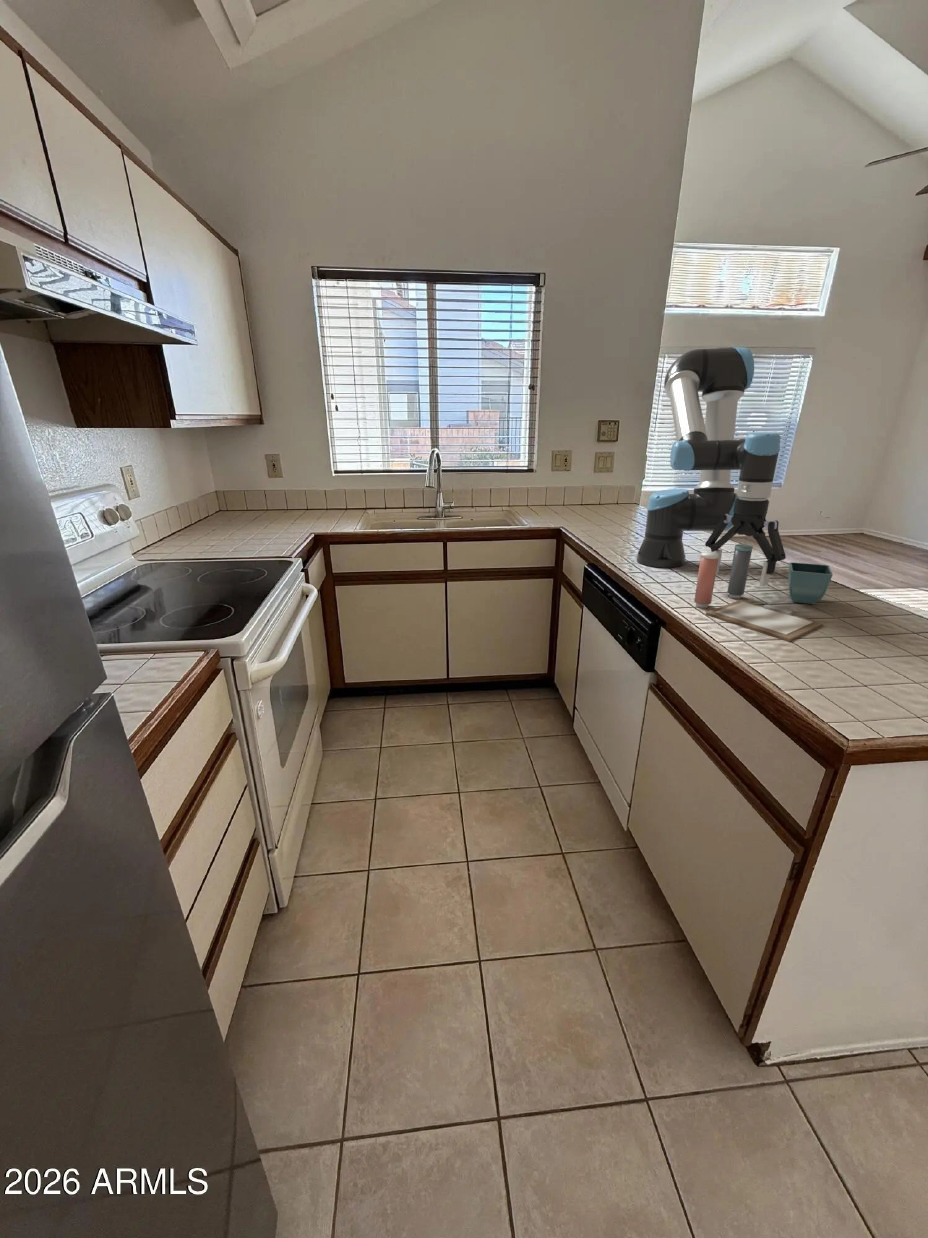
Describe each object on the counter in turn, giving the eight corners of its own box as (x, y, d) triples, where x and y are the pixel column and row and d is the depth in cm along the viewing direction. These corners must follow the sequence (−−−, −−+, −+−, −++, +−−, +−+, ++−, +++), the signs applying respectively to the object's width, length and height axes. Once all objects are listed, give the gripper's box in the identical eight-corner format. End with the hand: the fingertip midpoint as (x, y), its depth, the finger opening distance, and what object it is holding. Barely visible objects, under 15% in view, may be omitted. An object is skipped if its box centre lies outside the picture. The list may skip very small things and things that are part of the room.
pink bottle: (690, 605, 134) (697, 553, 128) (699, 602, 136) (707, 550, 130) (704, 610, 130) (712, 556, 125) (714, 606, 132) (722, 553, 127)
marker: (723, 596, 139) (731, 545, 134) (731, 593, 141) (740, 543, 136) (737, 600, 136) (747, 548, 131) (746, 597, 138) (756, 546, 133)
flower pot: (784, 603, 133) (791, 570, 129) (782, 593, 140) (789, 561, 137) (824, 608, 129) (833, 574, 126) (820, 597, 136) (829, 565, 133)
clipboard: (705, 614, 128) (706, 609, 127) (740, 601, 135) (741, 596, 134) (788, 641, 112) (790, 635, 111) (822, 625, 119) (824, 620, 119)
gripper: (698, 494, 137) (687, 571, 144) (796, 506, 117) (778, 594, 125) (715, 491, 140) (704, 566, 148) (813, 502, 121) (794, 588, 129)
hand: (738, 579), depth 137 cm, fingers open, 13 cm apart
